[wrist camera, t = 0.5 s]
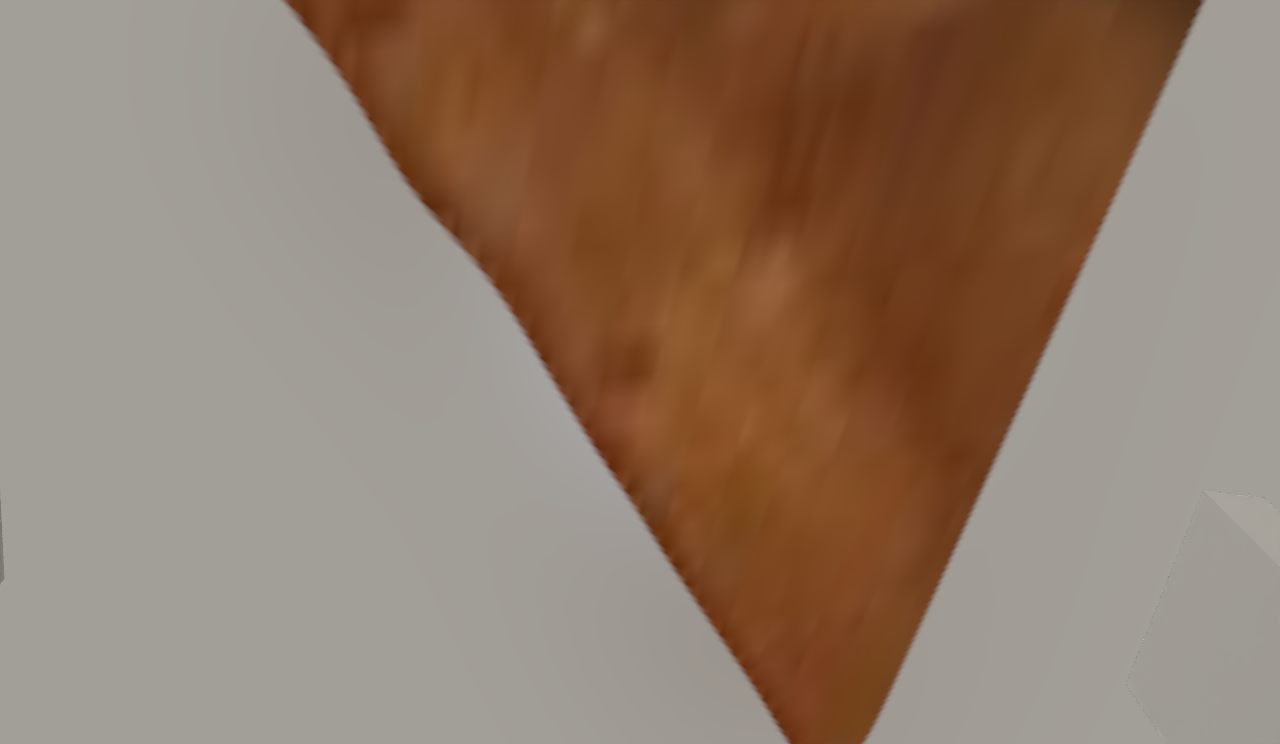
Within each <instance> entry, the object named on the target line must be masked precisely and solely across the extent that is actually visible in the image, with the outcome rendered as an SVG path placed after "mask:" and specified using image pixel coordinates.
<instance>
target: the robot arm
mask: <svg viewBox="0 0 1280 744" xmlns="http://www.w3.org/2000/svg"><path fill="white" fill-rule="evenodd" d="M3 580H4V564H3V542H2V522H1V502H0V584H1V582H2V581H3ZM1126 686H1127V687H1128V689H1129V690H1130V692H1131V693H1132V694H1133V696H1134V697H1135V699H1136V700H1137V702H1138V703H1139V705H1140V706H1141V707H1142V709H1143V710H1144V712H1145V713H1146V715H1147V716H1148V718H1149V719H1150V720H1151V722H1152V724H1153V725H1154V727H1155V728H1156V730H1157V731H1158V732H1159V734H1160V735H1161V737H1162V738H1163V739H1164V741H1165V743H1166V744H1280V511H1279V510H1277V509H1276V508H1275V507H1274V506H1273V505H1272V504H1271V503H1270V502H1268V500H1267V499H1265V498H1263V497H1254V496H1246V495H1237V494H1229V493H1220V492H1212V491H1203V493H1202V495H1201V498H1200V500H1199V503H1198V505H1197V508H1196V510H1195V513H1194V515H1193V518H1192V520H1191V523H1190V525H1189V528H1188V530H1187V533H1186V535H1185V538H1184V540H1183V543H1182V545H1181V548H1180V550H1179V553H1178V555H1177V558H1176V560H1175V562H1174V565H1173V568H1172V570H1171V572H1170V575H1169V578H1168V580H1167V582H1166V585H1165V588H1164V590H1163V593H1162V595H1161V597H1160V600H1159V603H1158V605H1157V608H1156V610H1155V612H1154V615H1153V617H1152V620H1151V622H1150V625H1149V627H1148V630H1147V632H1146V635H1145V637H1144V640H1143V642H1142V645H1141V648H1140V650H1139V652H1138V655H1137V657H1136V660H1135V663H1134V665H1133V667H1132V670H1131V673H1130V675H1129V677H1128V680H1127V682H1126Z"/></svg>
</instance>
